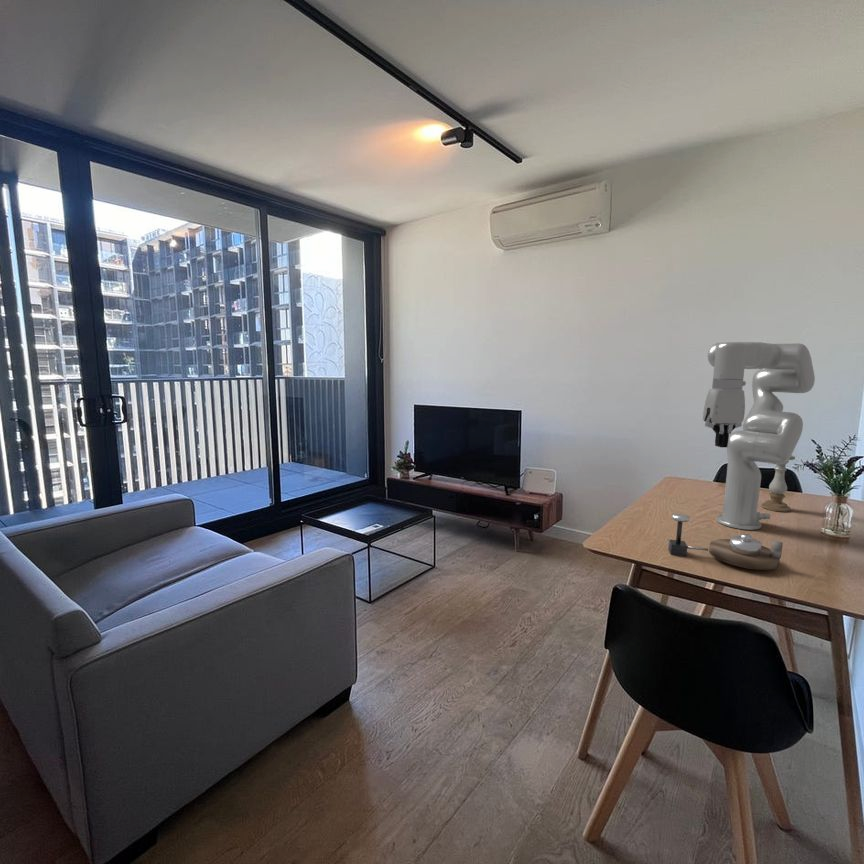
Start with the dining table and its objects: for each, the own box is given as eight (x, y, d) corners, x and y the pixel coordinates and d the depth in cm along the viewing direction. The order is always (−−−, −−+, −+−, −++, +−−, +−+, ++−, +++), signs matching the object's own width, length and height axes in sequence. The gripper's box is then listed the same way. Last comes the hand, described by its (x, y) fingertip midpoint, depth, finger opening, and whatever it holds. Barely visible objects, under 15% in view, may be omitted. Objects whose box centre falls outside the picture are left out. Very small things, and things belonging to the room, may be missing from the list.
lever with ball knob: (670, 554, 131) (673, 517, 129) (667, 548, 135) (670, 512, 133) (709, 559, 128) (713, 521, 126) (705, 553, 132) (709, 516, 130)
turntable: (711, 541, 138) (713, 522, 137) (779, 554, 129) (781, 534, 128) (706, 559, 125) (708, 538, 124) (781, 575, 116) (783, 553, 115)
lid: (729, 544, 131) (731, 528, 130) (759, 549, 127) (761, 534, 126) (729, 552, 125) (731, 536, 124) (760, 558, 121) (762, 542, 121)
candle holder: (794, 513, 167) (801, 458, 164) (765, 510, 170) (772, 456, 167) (784, 506, 175) (791, 453, 172) (757, 503, 178) (763, 452, 175)
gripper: (742, 384, 140) (735, 444, 143) (694, 384, 139) (689, 444, 142) (761, 385, 132) (754, 448, 135) (711, 386, 131) (705, 449, 134)
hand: (721, 446), depth 138 cm, fingers closed
